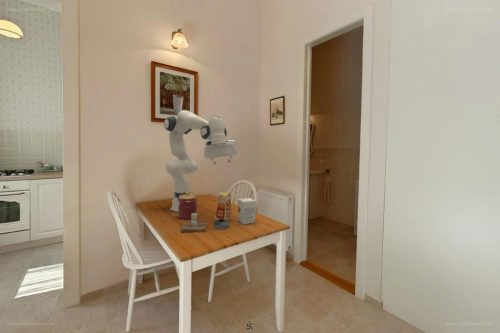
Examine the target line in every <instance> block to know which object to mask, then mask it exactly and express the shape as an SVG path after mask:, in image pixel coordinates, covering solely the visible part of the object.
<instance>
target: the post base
mask: <svg viewBox="0 0 500 333" xmlns="http://www.w3.org/2000/svg"><path fill="white" fill-rule="evenodd" d="M200 232H203V233H204V232H207V220H205V221H204V220H203V221H200V220H199V221H198V212H197V213H192V214H191V219H190V221H184V222H183V223H182V225H181V228H180V233H182V234H183V233H200Z"/></svg>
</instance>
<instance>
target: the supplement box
mask: <svg viewBox="0 0 500 333" xmlns="http://www.w3.org/2000/svg"><path fill="white" fill-rule="evenodd" d="M237 201H238V202H237V204H238V205H237V221H238V222H239V223H241V224H242V225H244V226H245V225H249V223H251V224H255V223H256V206H257V205H256V204H257V202H256V200H255V199H253V198H251V197H248V198H237ZM254 222H255V223H254Z"/></svg>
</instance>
